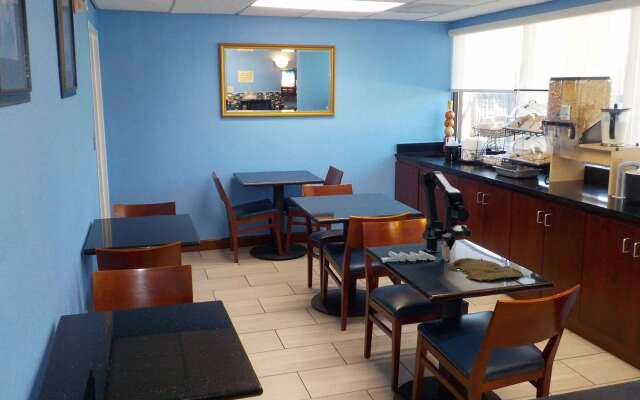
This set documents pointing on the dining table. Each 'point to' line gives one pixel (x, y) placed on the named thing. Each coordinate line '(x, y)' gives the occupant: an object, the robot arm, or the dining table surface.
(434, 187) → the robot arm
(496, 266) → the bark
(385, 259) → the domino
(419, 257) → the domino
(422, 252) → the domino
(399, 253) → the domino
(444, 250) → the domino
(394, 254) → the domino
